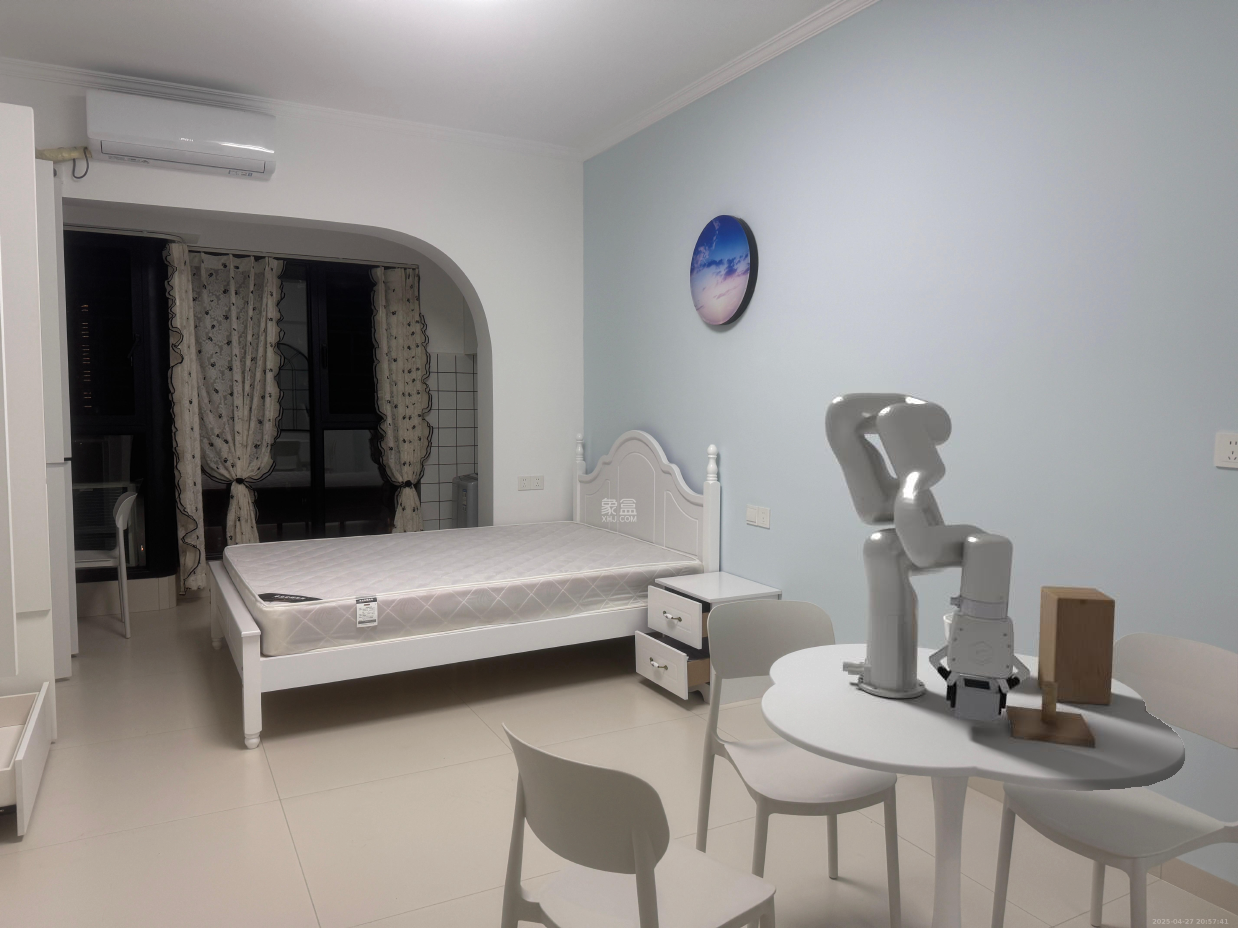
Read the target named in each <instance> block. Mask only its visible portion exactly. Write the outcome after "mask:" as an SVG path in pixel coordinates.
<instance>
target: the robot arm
mask: <svg viewBox="0 0 1238 928" xmlns="http://www.w3.org/2000/svg"><path fill="white" fill-rule="evenodd" d="M825 412H826V414H825V417H824V418H825V420H824V427H825V434H826V435H825V436H826V439H827V441H828V444H829V446H830V448H831V451H832V452H833V454H834V455H835V458H836V459H837V461H838V464H839V466H840V468H841V470H842V472H843V476H844V479H845V483H846V485H847V489H848V491H849V494H850V497H851V500H852V503H853V505H854V509H855V511H856V513H857V516H858V518H859V519H860V520H861V522H862V523H864V524H865V525H867V526H873V527H874V526H875V527H882V526H884V527H885V526H886V527H887V526H894V527H891V528H890V527H889V528H882V529H880V530H877V531H874V532H872V533H870V534H869V535H868V537H867V538H866V539H865V540H864V543H863V549H862V557H863V563H864V569H865V576H866V589H867V591H866V592H867V600H866V601H867V605H866V607H867V609H866V611H867V612H866V616H867V617H866V619H867V620H866V651H865V653H866V655H865V659H864V661H859V662H858V663H857V662H856V663H855V662H854V663H853V662H852V661H851V662H850V661H842V662H843V663H842V672H847V674H848V675H850V676H851V675H852V676H858V677H857V686H858V687H859V688H860V689H862V690H863V691H865V692H867V693H869V694H871V695H876V696H879V697H883V698H892V699H911V698H912V699H913V698H916V697H920V696H922V695H923V694H925V693H926V685H925V683H924V682H923V680H921V679H918V652H919V651H918V646H919V644H918V643H919V615H920V614H919V608H920V607H919V606H920V605H919V604H920V602H919V597H918V594H917V592H916V590H915V588H914V587H913V584H912V583H911V580H910V577H917V576H918V577H919V576H928V575H935V574H936V575H938V574H940V573H943V572H945V571H947V570H948V569H952V568H953V569H954V568H955V569H960V568H961V576H960V587H959V591H960V592H959V594H958V595H957V596H954V597H953V596H950V599H949V605H950V606H954V607H956V608H957V609H956V610H954V612H953V613H954V615H953V618H952V622H951V627H950V632H949V638H948V640H947V645H945V646H943V647H942V648H940V649H939V650H937V651H936V652H935V651H934V653H933V654H931V655H929V656H928V662H929V664H930V665H931V666H932V667H933V668H934V669H935V670H936V672H937V674H938V675H939V676H940V677H941V678H942V679H943V680H944V681H945V682H946V693H945V695H946V696H945V700H946V701H947V702H949V705H950V709H954V708H955V697H956V679H957V678H958V676H959V674H966V675H973V676H980V677H988V678H987V679H994V680H997V683H998V688H999V692H1000V701H999V713H998V716H1002V712H1003V711H1002V710H1006V705H1007V697H1008V694H1009V692H1010V691H1011V690H1013V688H1015V687H1017V686H1018V685H1020V683H1021V682H1022V681H1024V680H1026V679H1028V678H1029V677H1030V676H1031V671H1030V669H1029V668H1028V667H1027V666H1026V665H1025V664H1024V663H1023V662H1022V661H1021V660H1020V659H1019V658H1018V657H1017V656H1015V655H1016V654H1015V653H1014V652H1015V636H1014V635H1015V634H1014V633H1015V632H1014V624H1013V623H1014V622H1013V619H1012V617H1010V616H1009V615H1008V612H1009V599H1010V590H1011V589H1010V586H1011V574H1012V565H1013V564H1012V563H1013V551H1014V547H1013V546H1014V545H1013V542H1012V541H1011V540H1010V539H1009V538H1008V537H1005V536H1003V535H999V534H995V533H989V532H987V531H985V530H983V529H982V528H980V527H978V526H975V525H973V524H966V523H964V524H962V523H960V524H945V520H944V518H943V515H942V513H941V510H940V507H939V506H938V505H939V504H938V502H937V500H936V498H935V496H934V493H933V491H932V490H931V488H932V487H934V486H935V485H937V484H939V482H940V481H941V480H943V478H944V477H945V475H946V470H947V469H946V466H945V465H946V464H945V463H944V461H943V460H942V457H941V455H940V453H939V451H938V449H937V447H938V446H942V445H943V444H945V443H946V442H947V441H948V440H949V439H950V437H951V434H952V420H951V417H950V414H949V413H948V412H947V410H946V409H945V408H943V406H941V405H939V404H937V403H935V402H933V401H928V400H925V399H923V398H919V397H914V396H913V395H908V394H906V393H905V394H904V393H896V392H854V393H853V392H851V393H845V394H842V395H839V396H837V397H836V398H834V399H833V400H832V401H831V402H830V403H829V405H828V407H827V410H826V411H825ZM865 435H878V437H879V440H880V441H881V444H882V446H883V448H884V451H885V453H886V455H887V457H888V460H889V463H890V464H891V467H892V469H893V472H894V473H895V476H896V477H895V476H892V475H891V473H890V470H889V469H888V466H887V464H886V461H885V458H884V456H883V454H882V453H881V451H880V450H879V449H878V448H877V447H876V446H875V444H873V443H872V442H871V441H869V440H868V439H867V438H866V436H865ZM944 658H946V664H947V668H948V669H947V668H946V666H944V665H943V664H942V663H941V661H942V660H944ZM1014 668H1015V669H1016V670H1017V672H1016V673H1015V674H1013V670H1014Z"/></svg>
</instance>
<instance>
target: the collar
mask: <svg viewBox="0 0 1238 928" xmlns="http://www.w3.org/2000/svg"><path fill="white" fill-rule="evenodd" d="M998 686H999V683H998V680H997V679H994V678H987V679H986V678H979V677H972V676H964V675H959V676H958V678H957V679H956V697H955V708H953V711H954V713H953V714H954V717H956V718H963V719H969V720H974V721H975V720H977V721H981V722H982V721H983V722H989V723H995V724H998V721H999V715H998V713H999V701H1000V692H999V688H998Z"/></svg>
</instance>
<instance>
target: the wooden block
mask: <svg viewBox="0 0 1238 928" xmlns="http://www.w3.org/2000/svg"><path fill="white" fill-rule="evenodd" d="M1039 606H1040V607H1039V609H1040V610H1039V632H1038V634H1039V636H1038V661H1037V663H1038V664H1037V684H1038V686H1039V687H1040V688H1041V689H1042V687H1043V681H1051V682H1055V683H1057V702H1058V703H1059V702H1060V703H1070V704H1071V703H1073V704H1074V703H1075V704H1087V705H1102V706H1109V705H1111V702H1112V701H1111V700H1112V699H1111V698H1112V682H1113V681H1112V679H1113V659H1114V658H1113V657H1114V655H1113V654H1114V634H1115V633H1114V632H1115V613H1116V611H1115V610H1116V609H1115V608H1116V601H1115V599H1114V598H1112V597H1110V596H1109V595H1106V593H1103V592H1101V591H1100V590H1099V589H1096V588H1093V587H1077V586H1076V587H1075V586H1074V587H1073V586H1071V587H1069V586H1051V585H1050V586H1049V585H1044V586H1041V587H1040V605H1039ZM1057 702H1056V703H1057Z"/></svg>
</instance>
